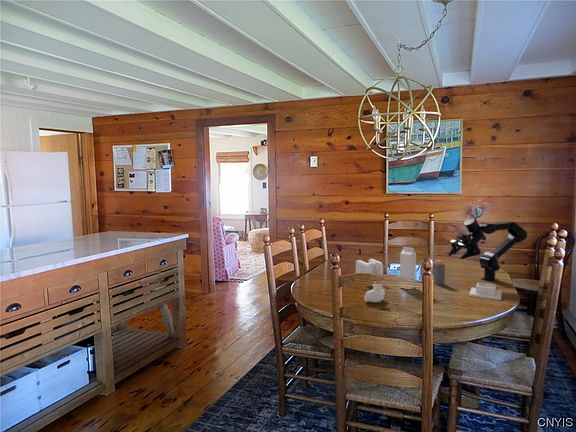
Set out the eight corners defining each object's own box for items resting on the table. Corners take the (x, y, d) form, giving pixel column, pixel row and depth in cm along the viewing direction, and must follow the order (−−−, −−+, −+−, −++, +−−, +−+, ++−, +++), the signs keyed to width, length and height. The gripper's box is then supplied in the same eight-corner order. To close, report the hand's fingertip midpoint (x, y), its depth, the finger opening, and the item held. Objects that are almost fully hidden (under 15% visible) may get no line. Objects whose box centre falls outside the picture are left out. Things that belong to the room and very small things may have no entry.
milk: (404, 286, 221) (405, 245, 219) (415, 288, 217) (416, 247, 215) (399, 288, 217) (400, 247, 215) (410, 290, 213) (411, 248, 211)
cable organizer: (383, 284, 225) (384, 263, 224) (366, 285, 223) (366, 264, 221) (371, 277, 240) (371, 258, 239) (354, 278, 237) (354, 259, 236)
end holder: (471, 289, 214) (472, 280, 214) (501, 292, 208) (502, 283, 207) (468, 296, 202) (469, 286, 202) (500, 300, 195) (501, 290, 195)
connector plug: (439, 282, 228) (440, 259, 226) (444, 284, 223) (445, 261, 222) (432, 283, 227) (433, 260, 225) (437, 285, 222) (437, 261, 221)
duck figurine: (366, 308, 192) (376, 293, 185) (358, 295, 197) (367, 280, 190) (385, 304, 198) (396, 289, 191) (376, 291, 203) (387, 277, 196)
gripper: (455, 225, 233) (436, 242, 230) (480, 230, 215) (460, 248, 212) (463, 240, 236) (445, 257, 233) (489, 246, 218) (469, 264, 215)
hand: (454, 256), depth 223 cm, fingers open, 9 cm apart
